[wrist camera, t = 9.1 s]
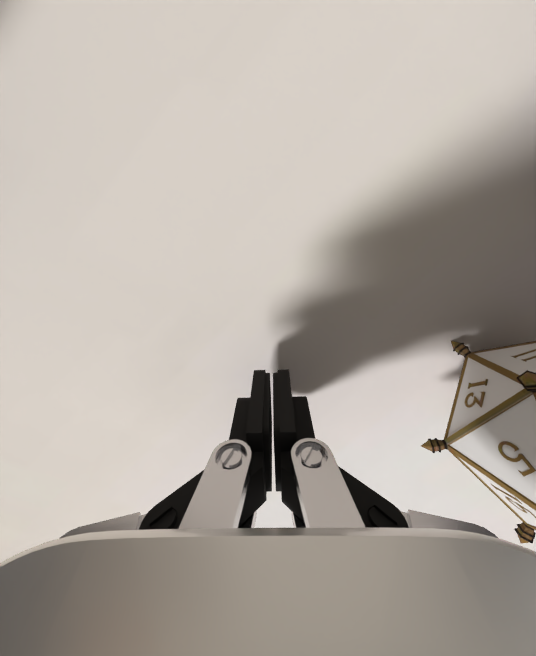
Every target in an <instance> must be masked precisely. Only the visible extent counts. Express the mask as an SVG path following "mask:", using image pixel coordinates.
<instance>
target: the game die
mask: <svg viewBox="0 0 536 656" xmlns="http://www.w3.org/2000/svg"><path fill="white" fill-rule="evenodd" d="M451 343H452V346H453V349H454V350H453V351H456V352H457V353H458V355H459V354H460V355H463V356H464V357H465V361H464V364H463V368H462V372H461V376H460V380H459V383H458V387H457V391H456V395H455V399H454V403H453V406H452V410H451V414H450V418H449V422H448V426H447V429H446V433H445V437H444V440H437V438H435V439H434V440H431V439H428V441H427V442H426V443H424V444H423V445H421V446H422V447H424V448H426V449H428V450H430V451H432V452H433V453H435V451H439V452H441V450H443V449H448V450H449V451H450V452H451V453H452V454H453V455H454V456H455V457H456V458H457V459H458V460H459V461H460V462H461V463H462V464H463V465H464V466H465V467H466V468H468V469H469V470H470V471H471V472H472V473H473V474H474V475H475V476H476V477H477V478H478V479H479V480H480V481H481V482H482V483H483V484H484V485H485V486H486V487H487V488H488V489H489V490H490V491H491V492H493V493H494V494H495V495H496V496H497V497H498V498H499V499H500V500H501V501H502V502H503V503H504V504H505V505H506V506H507V507H508V508H509V509H510V510H511V511H512V512H513V513H514V514H515V515H516V516H518V517H519V518H520V519H521V520H522V521H523V523H522V524H517V526H518V528H517V529H516V528H515V529H514V530H515V531H516V532H517V534H518V537H519V540H520V542H521V543H528V542H530V543H533V539H534V537H535V532H534V529H535V530H536V341H533V342H528V343H522V344H516V345H511V346H505V347H499V348H493V349H488V350H482V351H476V352H471V351H470V350H469V349H468V346H465V345H464V343H458V342H454V341H451Z"/></svg>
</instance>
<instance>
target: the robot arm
mask: <svg viewBox="0 0 536 656" xmlns="http://www.w3.org/2000/svg"><path fill="white" fill-rule="evenodd" d="M273 409H274V453H275V478H276V491H282V502H283V503H284V504H285V505H286V506H287V507H288V508H289V509H290V510H291V512H292V520H293V525H294V528H254V526H255V521H256V512H257V511H256V510H257V509H258V508H259V507H260V506H261V505H262V504H263V503H264V502H265V501H266V491H272V415H271V391H270V373H265V370H254V375H253V382H252V390H251V398H238V399H237V403H236V408H235V413H234V418H233V423H232V428H231V433H230V437H229V440H227V441H224V442H223V443H221V444H219V445H218V446H217V447H216V448H215V449H214V451H213V452H212V454H211V456H210V459H209V461H208V463H207V465H206V468H205V470H203V471H202V472H201V473H199V474H198V475H196V476H195V477H194V478H192V479H191V480H190V481H188V482H187V483H186V484H184V485H183V486H181V487H180V488H179V489H177V490H176V491H175V492H173V493H172V494H171V495H169V496H168V497H166V498H165V499H164V500H162V501H161V502H160V503H158V504H157V505H156V506H154V507H153V508H152V509H151V510H150V511H149V512H148V513H147V514H145V515H141V514H140V512H138V513H134V514H130V515H126V516H122V517H118V518H114V519H110V520H106V521H102V522H98V523H94V524H90V525H86V526H81V527H78V528H76V529H73V530H71V531H69V532H67V533H66V534H65V535H63V536H62V537H60V538H59V539H56V540H53V541H49V542H46V543H43V544H41V545H38V546H36V547H33V548H30V549H28V550H25V551H23V552H21V553H19V554H17V555H15V556H13V557H11V558H9V559H7V560H5V561H3V562H2V563H0V656H536V552H534V551H532V550H530V549H528V548H525V547H522V546H519V545H516V544H514V543H511V542H508V541H505V540H502V539H499V538H498V537H497V536H496V535H494V534H493V533H491V532H490V531H488V530H487V529H485V528H484V527H481V526H478V525H475V524H472V523H467V522H463V521H458V520H454V519H449V518H445V517H440V516H436V515H431V514H426V513H422V512H417V511H413V510H408V513H405V512H401V511H400V510H399V509H398V508H396V507H395V506H394V505H393V504H392V503H390V502H389V501H387V500H386V499H385V498H383V497H382V496H380V495H379V494H377V493H376V492H375V491H373V490H372V489H370V488H369V487H367V486H366V485H364V484H363V483H362V482H360V481H359V480H357V479H356V478H354V477H353V476H352V475H350V474H349V473H347V472H346V471H344V470H343V469H341V468H340V467H339V466H338V465H337V463H336V461H335V458H334V456H333V454H332V452H331V450H330V448H329V447H328V446H327V445H326V444H325V443H324V442H322V441H320V440H318V439H315V435H314V431H313V426H312V421H311V416H310V411H309V406H308V401H307V397H306V396H304V397H292V394H291V385H290V377H289V370H278V373H273Z"/></svg>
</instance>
